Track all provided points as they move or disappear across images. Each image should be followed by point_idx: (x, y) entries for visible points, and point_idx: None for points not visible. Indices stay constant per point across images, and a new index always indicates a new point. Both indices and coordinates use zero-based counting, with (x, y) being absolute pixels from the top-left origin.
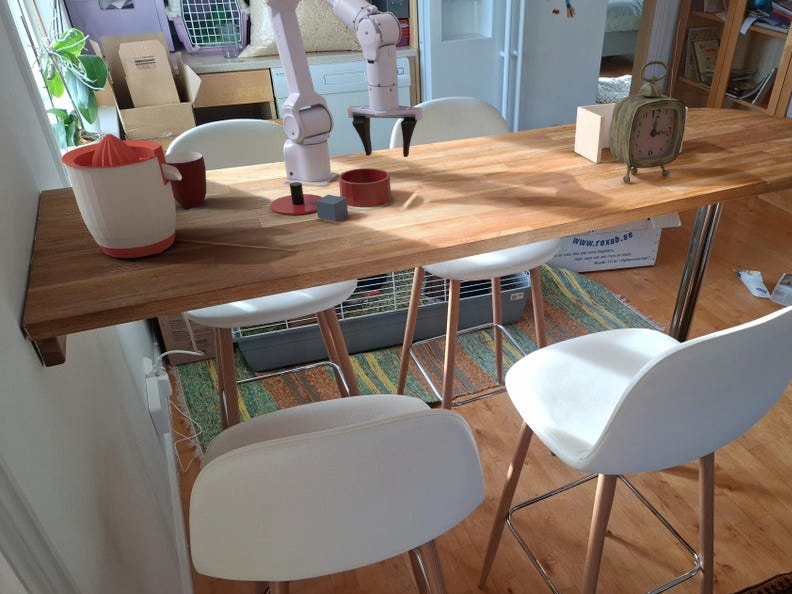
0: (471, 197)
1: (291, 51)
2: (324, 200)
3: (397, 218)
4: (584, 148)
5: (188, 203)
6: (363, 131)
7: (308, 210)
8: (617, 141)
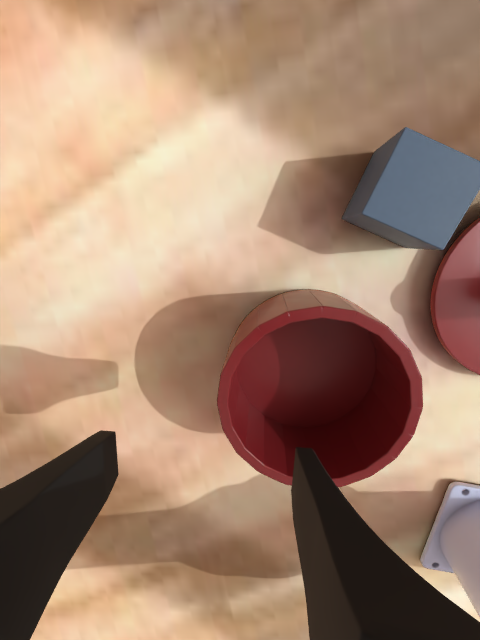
0: (15, 404)
1: None
2: (453, 172)
3: (182, 224)
4: None
5: None
6: (349, 563)
7: None
8: None
